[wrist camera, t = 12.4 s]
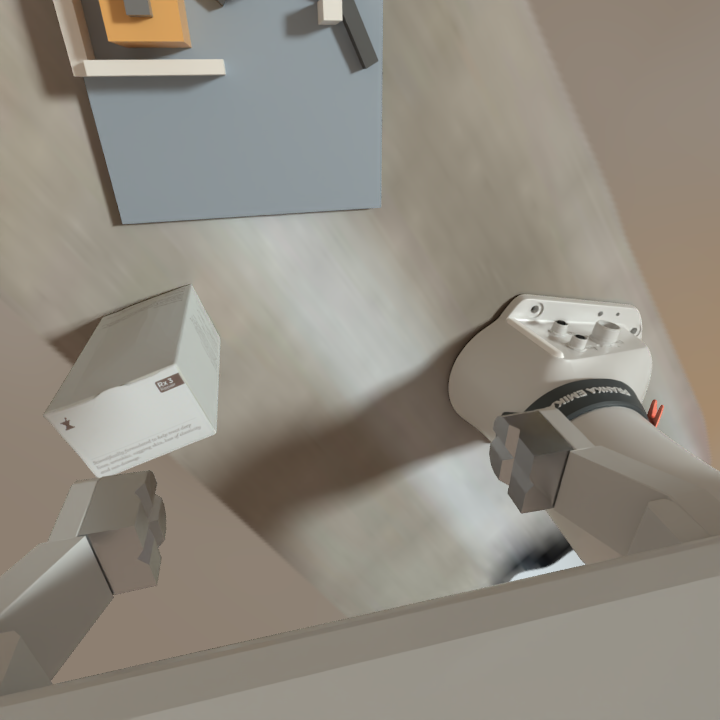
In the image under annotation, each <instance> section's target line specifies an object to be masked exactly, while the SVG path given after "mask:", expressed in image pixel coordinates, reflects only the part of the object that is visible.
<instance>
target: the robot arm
mask: <svg viewBox="0 0 720 720" xmlns="http://www.w3.org/2000/svg"><path fill="white" fill-rule="evenodd" d="M533 306H535V307H534V309H533V310H531V308H532V307H533ZM641 337H642V320H641V316H640V313H639V311H638V309H636V308H635V307H634V306H632V305H629V304H620V303H610V302H600V301H590V300H580V299H570V298H560V297H549V296H539V295H529V294H522V295H519V296H517V297H516V298H515V299H513V300H512V302H511V303H510V304H509V305H508V306H507V308H506V309H505V310H504V311H503V313H502V314H501V316H500V317H499V318H498V319H497V320H496V321H495V322H493V323H492V324H491V325H489V326H488V327H486V328H485V329H483V330H482V331H481V332H479V333H478V334H477V335H476V336H475V337H474V338H473V339H472V340H471V341H470V342H469V343H468V344H467V345H466V346H465V347H464V349H463V350H462V351H461V353H460V354H459V356H458V357H457V359H456V361H455V363H454V365H453V368H452V371H451V374H450V378H449V397H450V401H451V404H452V406H453V408H454V410H455V411H456V412H457V414H458V415H459V416H460V417H462V418H463V419H464V420H466V421H467V422H469V423H470V424H471V425H473V426H474V427H475V428H476V429H478V430H479V431H480V432H481V433H482V434H483V435H485V436H486V437H487V438H488V439H489V440H490V441H491V443H490V452H489V455H490V462H491V466H492V468H493V471H494V473H495V474H496V476H497V478H498V479H499V480H500V481H502V482H504V483H506V484H507V485H509V488H508V494H509V496H510V497H511V499H512V500H513V502H514V503H515V505H516V506H517V508H518V509H519V511H520V512H521V514H522V513H528V512H534V511H540V510H546V512H547V513H548V514H549V516H550V517H551V519H552V520H553V521H554V523H555V524H556V526H557V527H558V528H559V530H560V531H561V533H562V534H563V535H564V537H565V538H566V540H567V541H568V542H569V544H570V545H571V547H572V548H573V549H574V551H575V552H576V553H577V555H578V556H579V558H580V559H581V560H582V561H583V562H584V563H585V564H586V565H583V566H579V567H574V568H569V569H565V570H560V571H556V572H551V573H547V574H542V575H538V576H533V577H529V578H525V579H520V580H516V581H511V582H507V583H502V584H498V585H493V586H489V587H484V588H480V589H476V590H471V591H467V592H462V593H458V594H453V595H449V596H444V597H440V598H436V599H431V600H427V601H422V602H418V603H413V604H409V605H404V606H400V607H396V608H391V609H387V610H382V611H378V612H373V613H369V614H364V615H360V616H356V617H351V618H347V619H343V620H338V621H333V622H329V623H324V624H320V625H316V626H311V627H307V628H303V629H298V630H293V631H289V632H285V633H280V634H275V635H271V636H266V637H262V638H257V639H253V640H249V641H244V642H240V643H236V644H231V645H226V646H222V647H217V648H213V649H208V650H204V651H199V652H195V653H191V654H186V655H182V656H178V657H173V658H169V659H164V660H159V661H155V662H151V663H146V664H142V665H138V666H133V667H129V668H124V669H120V670H116V671H111V672H106V673H102V674H97V675H93V676H88V677H84V678H80V679H75V680H71V681H67V682H62V683H57V684H52V682H51V680H52V679H53V677H54V676H55V675H56V673H57V672H58V671H59V669H60V668H61V667H62V665H63V664H64V663H65V662H66V660H67V659H68V658H69V656H70V655H71V654H72V652H73V651H74V649H75V648H76V647H77V645H78V644H79V643H80V642H81V640H82V639H83V638H84V636H85V635H86V634H87V632H88V631H89V630H90V628H91V627H92V626H93V624H94V623H95V622H96V620H97V619H98V618H99V616H100V615H101V614H102V612H103V611H104V610H105V608H106V607H107V606H108V604H109V603H110V602H111V601H112V599H113V598H114V597H113V595H116V594H121V593H125V592H130V591H134V590H139V589H143V588H147V587H152V586H156V585H157V581H158V575H159V570H160V564H161V555H160V552H159V549H158V547H159V546H160V545H161V544H162V542H163V541H164V540H165V533H166V513H165V507H164V503H163V500H162V498H161V497H160V496H158V495H156V494H155V491H156V486H157V482H156V479H155V476H154V474H153V472H152V471H150V470H148V471H142V472H133V473H127V474H119V475H111V476H104V477H101V478H92V479H84V480H77V481H76V482H75V483H74V484H73V485H72V486H71V487H70V490H69V492H68V494H67V497H66V499H65V502H64V504H63V506H62V509H61V511H60V513H59V516H58V518H57V520H56V523H55V525H54V527H53V530H52V532H51V534H50V537H49V539H48V541H47V542H46V543H41V544H38V545H37V546H36V547H35V548H34V549H32V550H31V551H30V552H29V553H28V554H27V555H26V556H25V557H23V558H22V559H21V560H20V561H18V562H17V563H16V564H15V565H14V566H12V567H11V568H10V569H9V570H8V571H7V572H5V573H4V574H3V575H2V576H1V577H0V720H720V472H719V471H718V470H716V469H714V468H713V467H711V466H710V465H708V464H707V463H705V462H704V461H702V460H701V459H699V458H698V457H696V456H695V455H693V454H692V453H690V452H689V451H687V450H686V449H684V448H683V447H682V446H680V445H679V444H677V443H676V442H675V441H673V440H672V439H671V438H669V437H668V436H667V435H665V434H664V433H663V432H661V431H660V430H659V429H658V428H657V425H658V422H659V420H660V417H661V415H662V411H663V408H664V406H663V405H661V406H660V408H659V410H658V412H657V400H653V401H652V403H651V406H650V409H649V411H648V414H646V412H645V410H644V408H643V406H642V402H643V399H644V397H645V394H646V392H647V388H648V385H649V382H650V378H651V372H652V357H651V353H650V350H649V348H648V347H647V345H646V344H645V343H644V342H643V341H642V340H641ZM656 412H657V413H656Z"/></svg>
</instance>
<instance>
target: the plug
mask: <svg viewBox="0 0 720 720" xmlns="http://www.w3.org/2000/svg"><path fill="white" fill-rule="evenodd" d="M99 4H100V8H101V12H102V16H103V21H104V25H105V29H106V33H107V38H108V41H109V42H112V43H115V44H117V45H120V46H123V47H126V48H192V46H191V40H190V34H189V28H188V22H187V16H186V9H185V3H184V0H99Z"/></svg>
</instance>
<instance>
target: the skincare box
mask: <svg viewBox="0 0 720 720" xmlns="http://www.w3.org/2000/svg"><path fill="white" fill-rule="evenodd" d="M219 362H220V337H219V335H218V333H217V332H216V330H215V328H214V326H213V324H212V322H211V320H210V318H209V317H208V315H207V313H206V311H205V309H204V307H203V305H202V303H201V301H200V300H199V298H198V296H197V294H196V292H195V290H194V288H193V286H192V285H191V284H190V285H187V286H184V287H181V288H178V289H175V290H173V291H170V292H168V293H165V294H162V295H159V296H157V297H154V298H151V299H149V300H146V301H143V302H141V303H138V304H135V305H133V306H130V307H128V308H126V309H123V310H121V311H119V312H116V313H113V314H110V315H108V316H105V317H103V318H102V319H101V321H100V323H99V324H98V326H97V328H96V329H95V331H94V332H93V334H92V336H91V338H90V339H89V341H88V342H87V344H86V346H85V347H84V349H83V351H82V352H81V354H80V356H79V357H78V359H77V361H76V362H75V364H74V366H73V367H72V369H71V370H70V372H69V374H68V375H67V377H66V379H65V380H64V382H63V384H62V385H61V387H60V389H59V390H58V392H57V393H56V395H55V397H54V398H53V400H52V401H51V403H50V405H49V406H48V408H47V410H46V411H45V413H44V414H43V416H44V417H45V419H46V420H48V422H49V423H50V424H51V425H52V426H53V427H54V428H55V429H56V431H57V432H58V433H59V434H60V435H61V436H62V438H63V439H64V440H65V441H66V442H67V443H68V444H69V445H70V446H71V448H72V449H73V450H74V451H75V452H76V453H77V454H78V455H79V456H80V457H81V459H82V460H83V461H84V462H85V464H86V465H87V466H88V467H89V469H90V470H91V471H92V472H93V473H94V475H95V476H96V477H97V478H101V477H104V476H111V475H115V474H117V473H120V472H122V471H125V470H127V469H129V468H132V467H134V466H137V465H140V464H142V463H144V462H147V461H149V460H152V459H154V458H157V457H159V456H162V455H165V454H167V453H169V452H172V451H174V450H177V449H179V448H182V447H184V446H187V445H189V444H192V443H194V442H197V441H199V440H202V439H204V438H207V437H209V436H212V435H214V434H216V429H217V409H218V385H219Z"/></svg>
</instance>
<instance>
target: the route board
mask: <svg viewBox="0 0 720 720" xmlns="http://www.w3.org/2000/svg"><path fill="white" fill-rule="evenodd" d="M53 2H54V6H55V10H56V13H57V17H58V20H59V24H60V28H61V31H62V35H63V39H64V42H65V46H66V49H67V53H68V57H69V60H70V64H71V67H72V71H73V75H74V76H75V77H83V78H84V82H85V86H86V89H87V93H88V97H89V100H90V104H91V108H92V112H93V115H94V119H95V123H96V127H97V130H98V134H99V138H100V141H101V145H102V149H103V153H104V156H105V160H106V164H107V168H108V171H109V175H110V179H111V182H112V186H113V190H114V194H115V197H116V201H117V205H118V209H119V212H120V216H121V220H122V224H134V223H150V222H165V221H180V220H196V219H211V218H227V217H242V216H258V215H273V214H288V213H304V212H319V211H335V210H350V209H366V208H381V163H382V47H383V0H184V3H185V9H186V16H187V22H188V28H189V34H190V40H191V46H192V48H126V47H123V46H120V45H117V44H115V43H112V42H109V41H108V38H107V33H106V29H105V25H104V21H103V16H102V12H101V8H100V4H99V0H53Z"/></svg>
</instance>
